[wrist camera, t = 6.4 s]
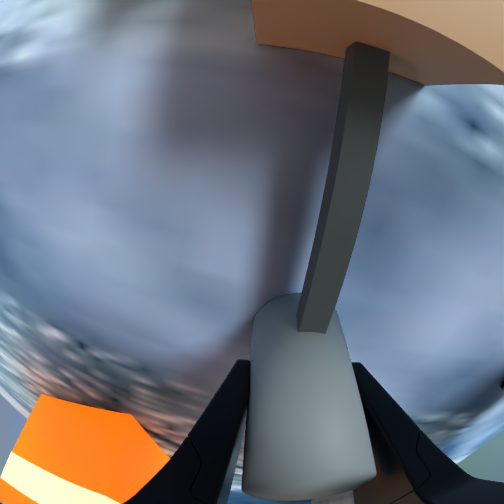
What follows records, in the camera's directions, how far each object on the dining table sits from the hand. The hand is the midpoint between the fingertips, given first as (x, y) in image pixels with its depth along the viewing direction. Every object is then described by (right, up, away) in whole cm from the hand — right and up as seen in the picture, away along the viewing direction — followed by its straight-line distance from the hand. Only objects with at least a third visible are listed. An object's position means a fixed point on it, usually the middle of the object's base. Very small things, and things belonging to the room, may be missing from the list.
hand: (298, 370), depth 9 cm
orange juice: (-13, -10, +8) cm, 18 cm away
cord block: (+1, +7, -2) cm, 7 cm away
